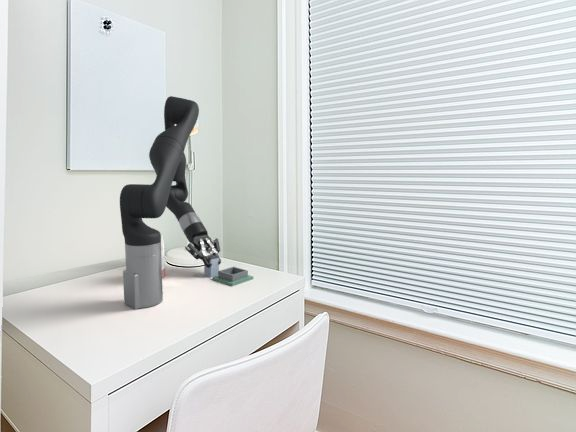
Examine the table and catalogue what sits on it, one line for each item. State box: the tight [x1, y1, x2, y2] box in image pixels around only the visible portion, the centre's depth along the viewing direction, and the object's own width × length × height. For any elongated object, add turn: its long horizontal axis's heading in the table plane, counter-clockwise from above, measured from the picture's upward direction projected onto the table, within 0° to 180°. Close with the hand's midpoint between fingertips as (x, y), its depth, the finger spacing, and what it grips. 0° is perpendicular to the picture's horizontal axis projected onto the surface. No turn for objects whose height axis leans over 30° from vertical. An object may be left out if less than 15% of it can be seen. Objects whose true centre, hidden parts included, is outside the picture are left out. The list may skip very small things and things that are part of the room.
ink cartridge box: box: [161, 235, 166, 279], centre depth 112 cm, size 9×5×15 cm, turn 179°
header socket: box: [211, 266, 254, 287], centre depth 115 cm, size 10×10×3 cm
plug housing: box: [203, 254, 220, 278], centre depth 119 cm, size 4×4×7 cm
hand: (214, 265), depth 118 cm, fingers closed on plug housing, 3 cm apart
